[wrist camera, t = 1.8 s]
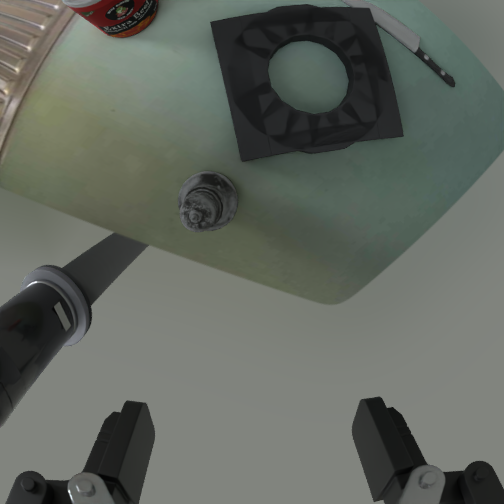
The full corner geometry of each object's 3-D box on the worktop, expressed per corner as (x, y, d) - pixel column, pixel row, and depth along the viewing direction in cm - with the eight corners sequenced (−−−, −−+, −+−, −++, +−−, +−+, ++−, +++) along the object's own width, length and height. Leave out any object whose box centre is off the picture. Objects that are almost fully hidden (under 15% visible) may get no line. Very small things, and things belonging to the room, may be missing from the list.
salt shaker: (198, 231, 34) (176, 270, 23) (176, 183, 33) (140, 199, 21) (247, 210, 34) (248, 239, 22) (225, 160, 32) (214, 163, 21)
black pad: (243, 166, 32) (243, 166, 30) (211, 24, 27) (209, 18, 25) (396, 141, 31) (404, 141, 29) (362, 10, 26) (368, 3, 24)
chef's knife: (340, -18, 25) (329, -6, 26) (342, -22, 24) (332, -10, 25) (457, 75, 29) (451, 89, 29) (462, 73, 28) (456, 87, 28)
